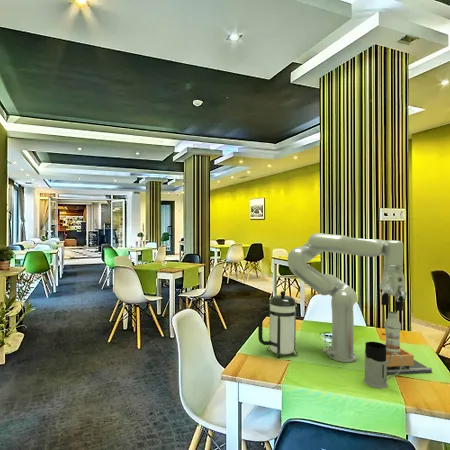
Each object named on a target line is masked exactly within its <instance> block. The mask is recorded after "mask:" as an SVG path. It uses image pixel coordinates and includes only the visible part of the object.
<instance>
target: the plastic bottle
mask: <svg viewBox="0 0 450 450" xmlns="http://www.w3.org/2000/svg"><path fill="white" fill-rule="evenodd" d="M387 313H388V314H387V318H386V319H385V321H384V324H383V325H384V332H385V344H384V345H386V355H388V356H389V355H392V354H393V353H396V354H399V355H401V349H400V348H401V342H400V338H401V331H402V324H401V322H400V321H399V319H398V318H399V316H398V315H399V313H398V311H388V312H387ZM396 354H394V355H396Z"/></svg>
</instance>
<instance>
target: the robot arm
mask: <svg viewBox="0 0 450 450" xmlns="http://www.w3.org/2000/svg"><path fill="white" fill-rule="evenodd" d="M322 252H327V253H335V254H343V255H353V256H359V257H366V258H367V257H370V258H375V257H378V256H383V272H382V278H381V283H380V284H379V291H380V293H381V294H380V296H381V302H380V303H381V304H380V305H382V306H389V303H390V296H392V297H394V298H395V303H394V307H395V308H394V311H395V312H403V311H404V302H405V301H406V298H407V295H408V293H407V291H406V283H405V282H406V281H405V275H404V272H403V271H404V270H403V269H404V266H403V264H404V242H403V241H401V240H395V239H394V240H392V239H391V240H390V239H389V240H384V239H380V238H379V239H377V238H373V239H370V238H369V239H365V238H356V237H350V236H348V235H345V234H344V235H342V234H330V233H329V234H328V233H322V232H317V233H313V234H311V235H310V236H309V238H308V240H307V242H306V243H304V244H303V245H302V246H299V247H294V248H293V249H291V250H290V251H289V252H288V254H287V264H288V268H289V270H290V272H291V273H292V274H293V275H294V276H296V277H297V278H298V279H300V280H301V281H302V282H303V283H304V284H306V286H308V287H310V288H311V289H312V290H314V291H315V292H316V293H317V294H319V295H320V296H328V295H329V296H330V297H331V302H330V303H331V345H329V347H327V348H322V349H321V353H323V354H327V355H328V357H329V358H330V359H331V360H333V361H336V362H341V363H355V362H356V361H357V360H358V356H357V354H355V353H354V340H355V339H354V336H355V335H354V334H355V333H354V332H355V331H354V329H355V326H354V324H355V323H354V322H355V321H354V320H355V319H354V318H355V317H354V305H355V304H356V302H357V300H358V295H357V293H356V291H355V289H353V288H352V287H351V286H349V285H348V284H347V283H345V282H344V281H343V280H341V279H340V278H338V277H336V276H335V275H333V274H331V273H330V274H329V273H324V274H323V273H321V272H320V271H319V270H317V269H316V268H314V267H313V266H311V265H309V264H308V262H310V261H312V260H313V259H315V258H316V257H317V256H318V255H320V254H321V253H322ZM389 295H390V296H389Z"/></svg>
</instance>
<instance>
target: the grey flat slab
mask: <svg viewBox="0 0 450 450" xmlns="http://www.w3.org/2000/svg"><path fill="white" fill-rule="evenodd" d="M400 367H401V366H392V369H388V368H387V375H388V376H389V375H390V376H393V375H395V374H396V373H397V372H398V371H399V370H400ZM432 369H433V368H432V367H427V366H426V365H424V364H422V363H421V362H419V361H417V360H415V359H414V365H413V366H410V367H409V368H405V367H404V366H402V369H401V371H400V372H399V373H398V374H397V375H410V374H432V372H433V370H432ZM395 376H396V375H395Z"/></svg>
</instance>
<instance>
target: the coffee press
mask: <svg viewBox="0 0 450 450" xmlns="http://www.w3.org/2000/svg"><path fill="white" fill-rule="evenodd" d="M279 294H280V295H279ZM279 294H278V295H274V296H272V297H271V298H270V300H268V302H269V310H264V311H263V312H261V313H260V315H259V318H258V323H257V325H258V327H257V328H258V329H257V330H258V332H257V334H258V335H257V336H258V341H259V342H260V344H261V345H263V346H268V347H267V348H266V351H267V352H270V351H272V353H274V354H276V359H281V355H289V354H292V355H293V356H294V357H297V356H298V355H299V353H298V351H297V350H296V337H297V336H296V329H297V328H296V326H297V325H296V323H297V322H296V321H297V318H296V317H297V315H296V314H297V310H296V307H298V305H297V301H296V300H295V298H294V297H293V296H290V295H286V292H285V290H282V291H280V293H279ZM265 316H269V340H267V341H266V340H264V338H263V332H264V331H263V328H264V327H263V325H264V324H263V322H264V318H265Z"/></svg>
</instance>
